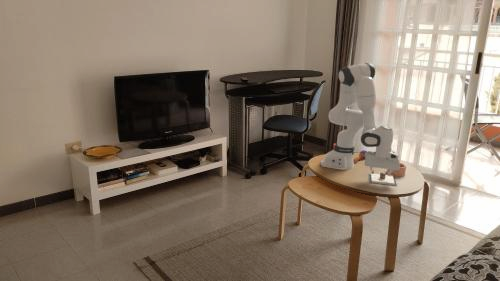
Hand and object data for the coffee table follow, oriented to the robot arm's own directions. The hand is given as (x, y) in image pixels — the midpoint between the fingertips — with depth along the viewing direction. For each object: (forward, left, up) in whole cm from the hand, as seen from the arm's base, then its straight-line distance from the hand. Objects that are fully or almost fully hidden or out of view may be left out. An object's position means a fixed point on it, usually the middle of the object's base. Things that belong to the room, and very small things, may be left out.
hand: (380, 174), depth 233 cm
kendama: (-12, +37, -5) cm, 39 cm away
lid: (+1, +2, -4) cm, 5 cm away
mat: (+1, +2, -5) cm, 5 cm away
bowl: (+10, +17, -5) cm, 21 cm away
